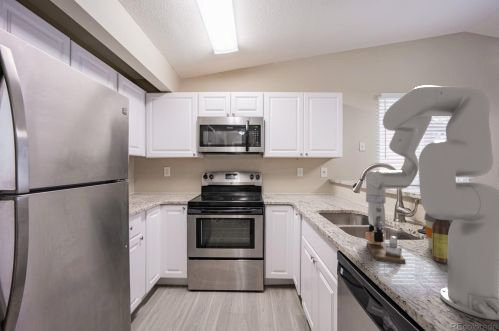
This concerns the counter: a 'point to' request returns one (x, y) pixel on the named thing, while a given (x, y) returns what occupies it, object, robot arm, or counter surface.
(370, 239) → the ring
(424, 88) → the robot arm
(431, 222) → the reusable coffee cup
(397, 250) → the storage rod
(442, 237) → the sauce bottle
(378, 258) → the board
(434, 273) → the counter surface
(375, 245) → the hub post
